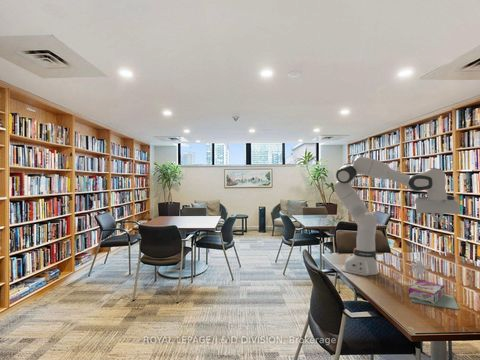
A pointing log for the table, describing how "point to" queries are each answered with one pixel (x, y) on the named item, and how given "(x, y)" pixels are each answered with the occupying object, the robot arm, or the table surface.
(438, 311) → the table surface
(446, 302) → the desk pad
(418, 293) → the candy bar box
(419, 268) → the white figurine
